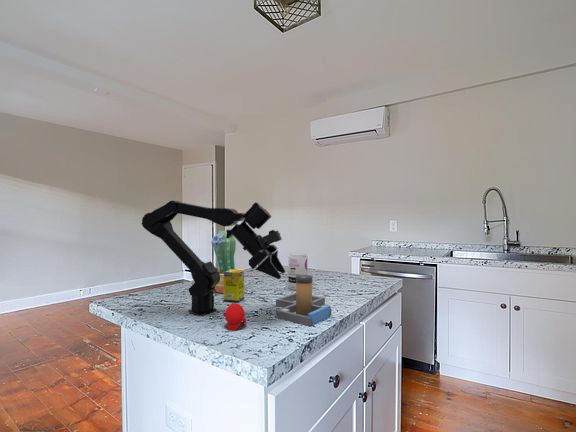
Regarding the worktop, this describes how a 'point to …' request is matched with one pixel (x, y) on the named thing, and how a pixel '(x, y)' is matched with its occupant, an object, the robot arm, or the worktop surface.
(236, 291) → the supplement box
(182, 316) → the worktop surface
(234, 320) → the red lumpy figurine
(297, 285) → the vitamin jar
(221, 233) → the potted cactus
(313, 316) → the divided tray
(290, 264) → the supplement can
